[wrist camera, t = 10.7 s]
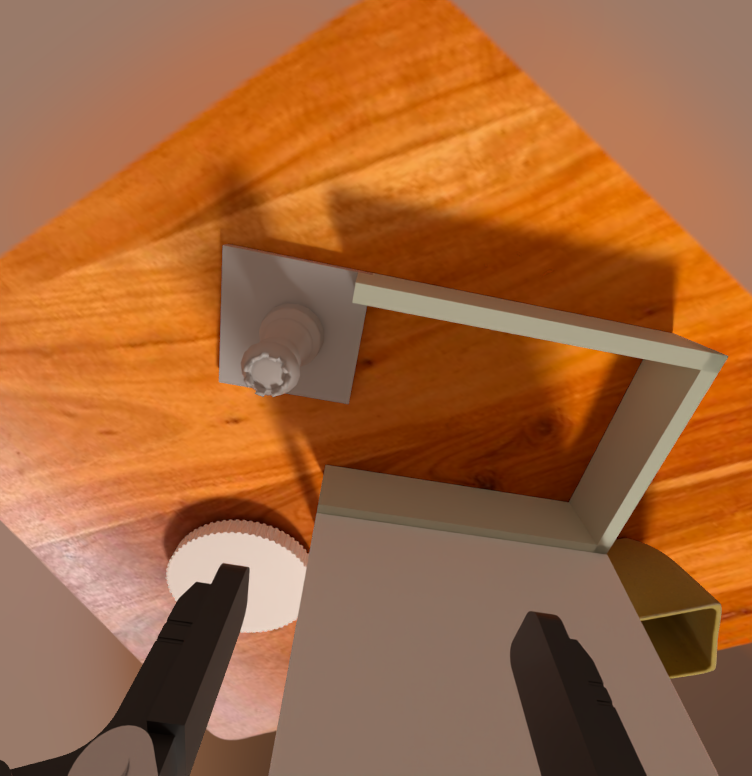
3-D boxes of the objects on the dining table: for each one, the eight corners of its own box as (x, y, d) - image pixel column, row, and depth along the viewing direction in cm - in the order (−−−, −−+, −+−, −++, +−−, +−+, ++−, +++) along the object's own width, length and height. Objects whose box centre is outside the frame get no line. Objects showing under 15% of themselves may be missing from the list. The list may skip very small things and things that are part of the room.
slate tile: (372, 272, 27) (372, 275, 26) (349, 398, 31) (348, 404, 30) (227, 243, 26) (222, 245, 25) (223, 377, 30) (218, 382, 29)
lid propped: (606, 553, 32) (849, 911, 16) (586, 585, 33) (787, 940, 17) (316, 511, 30) (249, 875, 13) (310, 547, 31) (243, 911, 15)
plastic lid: (239, 487, 35) (230, 506, 33) (345, 567, 40) (343, 589, 37) (150, 560, 39) (136, 582, 37) (255, 626, 44) (248, 649, 41)
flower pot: (553, 536, 38) (603, 627, 29) (646, 516, 37) (724, 604, 28) (561, 594, 41) (608, 690, 33) (646, 578, 40) (716, 671, 32)
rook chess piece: (272, 365, 29) (238, 418, 22) (255, 306, 27) (211, 342, 20) (331, 356, 28) (316, 407, 21) (317, 296, 27) (296, 329, 19)
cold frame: (671, 332, 29) (857, 409, 18) (549, 560, 39) (619, 701, 28) (358, 269, 27) (348, 312, 16) (314, 527, 37) (289, 665, 26)
